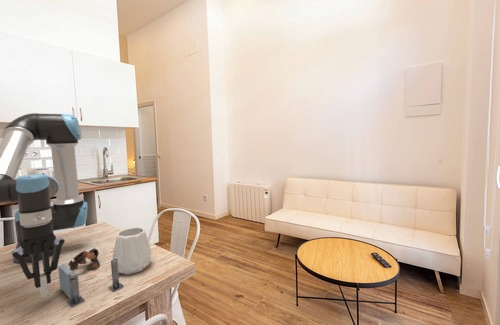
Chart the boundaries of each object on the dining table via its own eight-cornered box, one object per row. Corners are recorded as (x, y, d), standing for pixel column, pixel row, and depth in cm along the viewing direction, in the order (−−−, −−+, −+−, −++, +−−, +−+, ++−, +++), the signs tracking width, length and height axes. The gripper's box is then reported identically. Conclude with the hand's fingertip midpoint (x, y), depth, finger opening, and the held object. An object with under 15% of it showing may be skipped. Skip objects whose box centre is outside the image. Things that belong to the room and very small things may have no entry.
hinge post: (67, 302, 77) (65, 279, 76) (80, 296, 80) (78, 274, 79) (71, 307, 75) (69, 283, 74) (84, 301, 78) (82, 277, 77)
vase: (159, 261, 103) (157, 227, 101) (134, 279, 89) (131, 240, 88) (132, 257, 107) (130, 224, 106) (105, 274, 94) (102, 236, 92)
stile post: (108, 288, 84) (106, 261, 83) (119, 283, 87) (117, 257, 86) (113, 291, 82) (111, 264, 81) (123, 286, 85) (121, 259, 84)
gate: (80, 300, 77) (77, 274, 77) (74, 302, 76) (71, 276, 75) (65, 285, 86) (63, 261, 85) (60, 287, 84) (57, 263, 84)
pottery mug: (94, 275, 94) (79, 260, 91) (74, 284, 95) (60, 270, 92) (109, 253, 105) (97, 240, 103) (92, 262, 106) (79, 249, 104)
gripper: (10, 232, 68) (18, 310, 70) (66, 220, 78) (72, 288, 80) (5, 227, 72) (13, 301, 74) (58, 216, 83) (64, 281, 85)
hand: (44, 294), depth 77 cm, fingers closed
